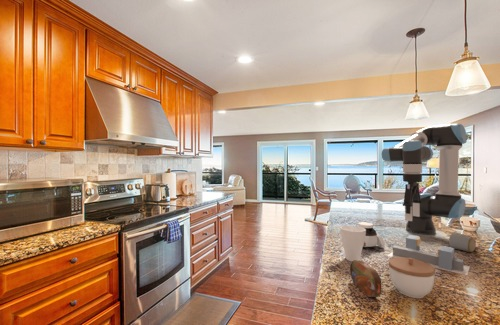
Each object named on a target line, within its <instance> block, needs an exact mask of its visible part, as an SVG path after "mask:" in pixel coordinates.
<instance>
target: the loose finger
mask: <svg viewBox="0 0 500 325" xmlns="http://www.w3.org/2000/svg"><path fill="white" fill-rule="evenodd" d="M420 245H421V237H420V236H419V235H413V234H409V235H407V236H406V237H405V248H408V249H413V250H418V251H421V250H420V249H421V248H420V247H421V246H420Z"/></svg>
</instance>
